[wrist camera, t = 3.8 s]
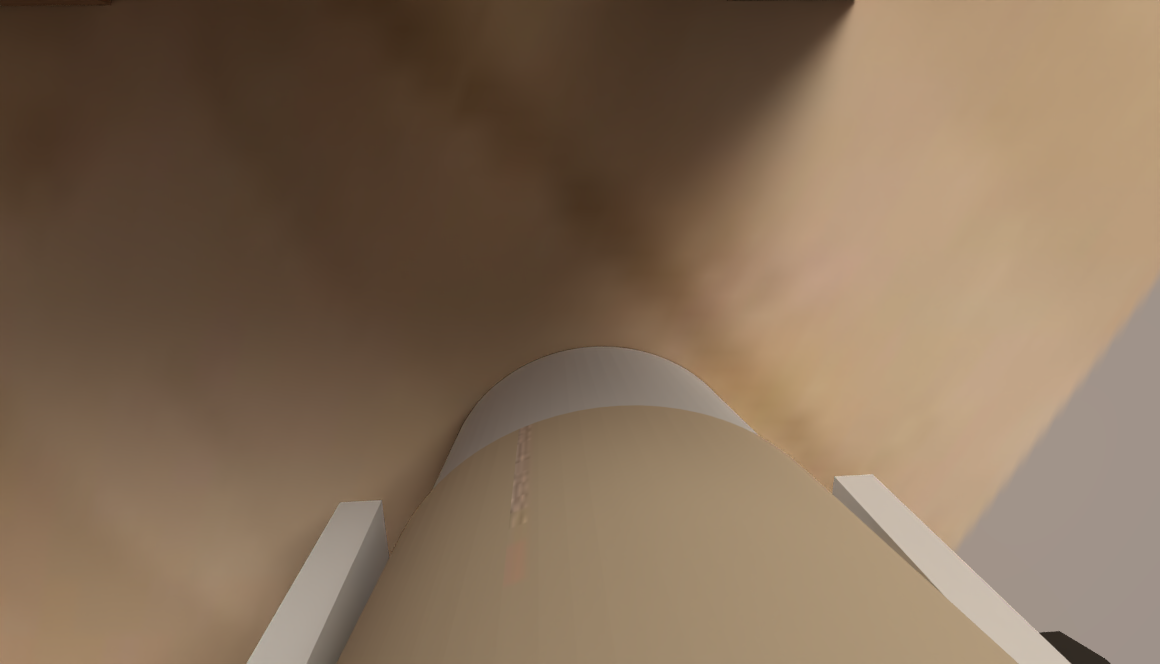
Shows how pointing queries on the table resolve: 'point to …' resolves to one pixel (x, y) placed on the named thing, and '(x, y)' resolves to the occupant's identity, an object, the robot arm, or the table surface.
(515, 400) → the coffee cup
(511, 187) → the table surface
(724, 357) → the table surface
